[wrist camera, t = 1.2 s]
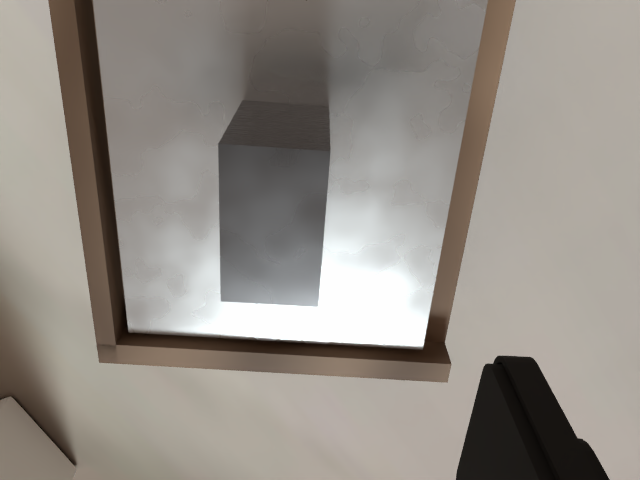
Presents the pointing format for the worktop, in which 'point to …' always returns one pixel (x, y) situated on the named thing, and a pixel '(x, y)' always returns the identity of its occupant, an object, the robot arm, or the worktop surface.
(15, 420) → the milk carton
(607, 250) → the worktop surface
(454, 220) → the walnut box
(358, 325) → the cover plate
